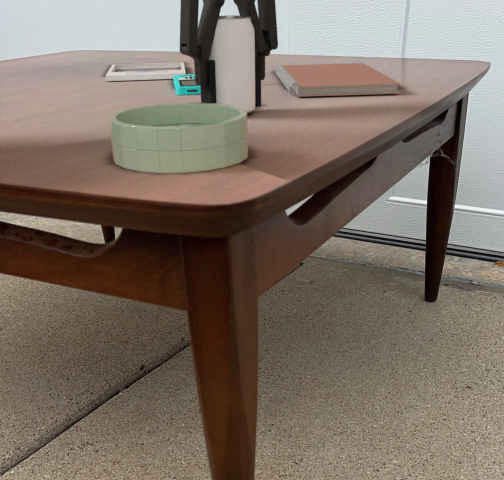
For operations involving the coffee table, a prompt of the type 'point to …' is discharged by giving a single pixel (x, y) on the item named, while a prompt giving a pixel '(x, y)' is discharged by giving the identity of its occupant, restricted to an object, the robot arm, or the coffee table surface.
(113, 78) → the photo frame
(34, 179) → the coffee table surface
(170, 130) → the bowl
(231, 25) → the can
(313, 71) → the notebook
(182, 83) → the handheld game console
